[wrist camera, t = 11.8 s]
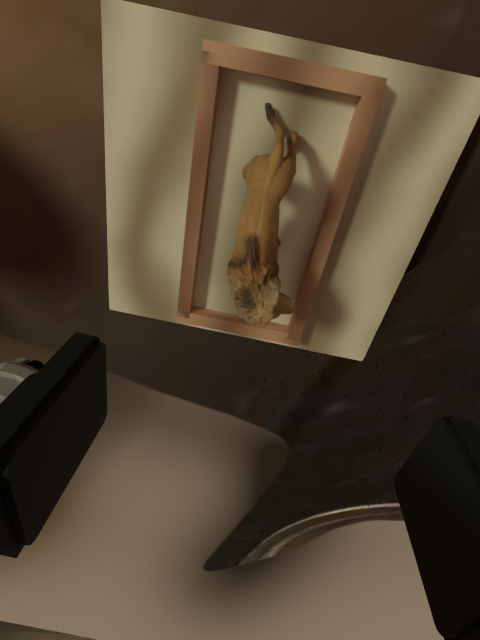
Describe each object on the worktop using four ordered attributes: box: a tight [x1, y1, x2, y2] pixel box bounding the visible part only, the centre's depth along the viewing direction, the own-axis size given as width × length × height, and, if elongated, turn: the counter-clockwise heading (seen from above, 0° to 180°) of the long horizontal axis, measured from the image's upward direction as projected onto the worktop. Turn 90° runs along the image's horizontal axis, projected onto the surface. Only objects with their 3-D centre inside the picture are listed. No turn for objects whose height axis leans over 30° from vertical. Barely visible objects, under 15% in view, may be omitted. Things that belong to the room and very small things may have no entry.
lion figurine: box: [227, 103, 299, 331], centre depth 20 cm, size 12×4×7 cm, turn 2°
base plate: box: [101, 0, 480, 361], centre depth 24 cm, size 22×20×3 cm
